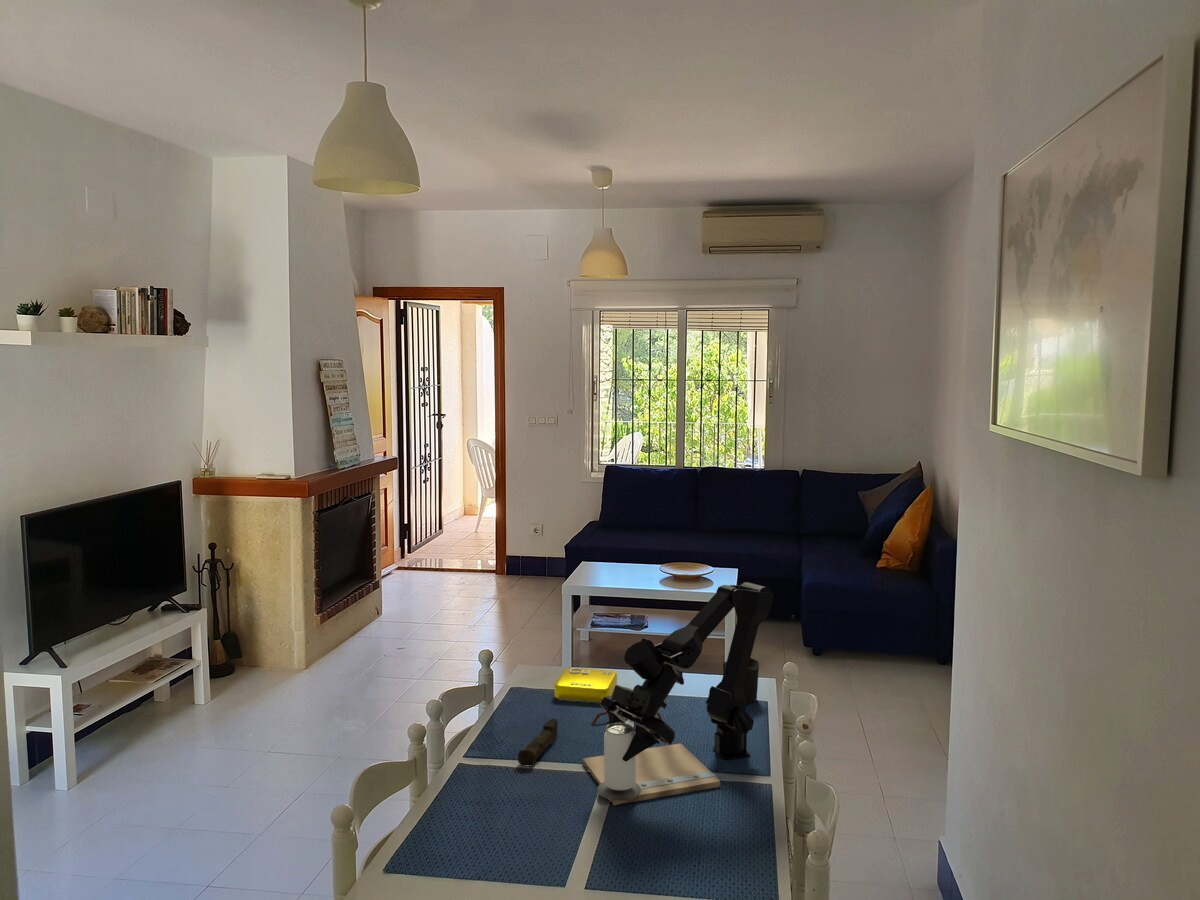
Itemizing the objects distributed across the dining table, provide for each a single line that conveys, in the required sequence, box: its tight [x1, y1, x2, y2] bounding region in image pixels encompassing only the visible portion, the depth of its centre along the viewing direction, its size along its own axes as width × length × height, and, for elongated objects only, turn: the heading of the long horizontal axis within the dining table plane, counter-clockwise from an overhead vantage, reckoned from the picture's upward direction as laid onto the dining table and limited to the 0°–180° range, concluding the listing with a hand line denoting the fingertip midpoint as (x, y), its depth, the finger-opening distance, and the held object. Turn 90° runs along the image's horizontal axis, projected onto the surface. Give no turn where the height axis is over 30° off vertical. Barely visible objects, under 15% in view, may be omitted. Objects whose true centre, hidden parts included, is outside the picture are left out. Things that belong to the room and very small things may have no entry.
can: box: [603, 722, 636, 791], centre depth 182 cm, size 6×6×12 cm
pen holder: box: [722, 657, 760, 705], centre depth 236 cm, size 9×9×10 cm
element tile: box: [554, 667, 618, 702], centre depth 241 cm, size 15×15×5 cm
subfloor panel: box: [582, 742, 721, 806], centre depth 191 cm, size 26×21×1 cm
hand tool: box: [517, 718, 559, 767], centre depth 205 cm, size 19×4×5 cm, turn 159°
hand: (614, 755), depth 181 cm, fingers closed on can, 6 cm apart
